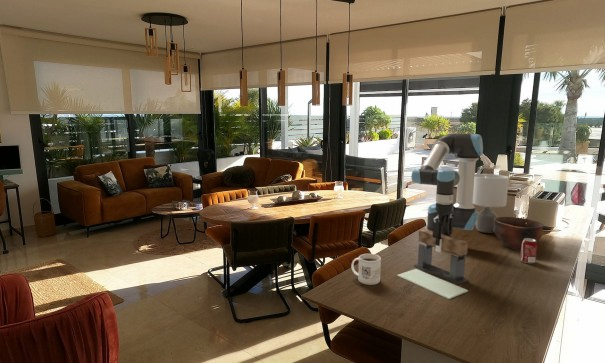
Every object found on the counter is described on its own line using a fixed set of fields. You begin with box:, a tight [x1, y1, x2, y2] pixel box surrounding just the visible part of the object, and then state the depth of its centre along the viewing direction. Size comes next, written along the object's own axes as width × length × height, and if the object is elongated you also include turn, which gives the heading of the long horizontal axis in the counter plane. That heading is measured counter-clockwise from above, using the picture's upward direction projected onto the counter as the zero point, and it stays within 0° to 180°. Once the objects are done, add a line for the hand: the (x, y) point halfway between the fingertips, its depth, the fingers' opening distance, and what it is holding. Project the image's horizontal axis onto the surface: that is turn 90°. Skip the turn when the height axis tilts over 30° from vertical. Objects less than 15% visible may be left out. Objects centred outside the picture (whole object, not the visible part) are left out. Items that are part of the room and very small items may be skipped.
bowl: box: [493, 216, 545, 251], centre depth 218 cm, size 25×25×15 cm
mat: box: [396, 268, 469, 300], centre depth 171 cm, size 28×13×1 cm, turn 34°
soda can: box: [519, 238, 538, 265], centre depth 195 cm, size 7×7×12 cm
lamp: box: [473, 173, 510, 234], centre depth 245 cm, size 21×21×37 cm
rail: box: [418, 228, 469, 256], centre depth 180 cm, size 24×4×6 cm, turn 34°
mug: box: [350, 253, 382, 286], centre depth 174 cm, size 10×12×11 cm
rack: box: [413, 243, 469, 285], centre depth 181 cm, size 25×7×12 cm, turn 34°
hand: (441, 250), depth 181 cm, fingers closed on rail, 4 cm apart
